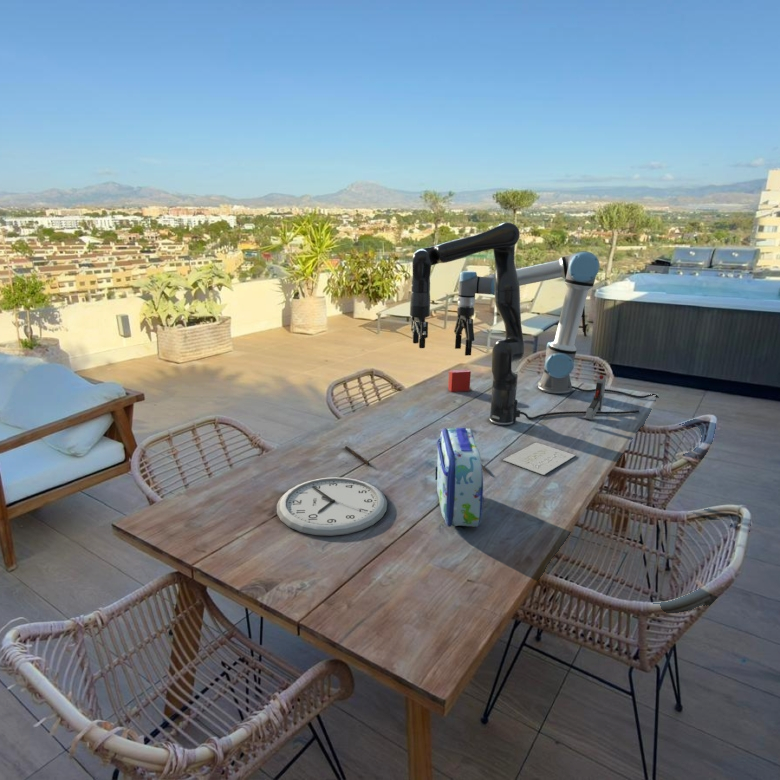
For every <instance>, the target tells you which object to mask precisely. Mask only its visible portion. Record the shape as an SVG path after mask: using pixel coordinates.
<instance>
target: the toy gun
mask: <svg viewBox="0 0 780 780" xmlns="http://www.w3.org/2000/svg"><path fill="white" fill-rule="evenodd" d="M595 389H596V391H594V392H595V393H594V396H593V398H592V401H591V402H590V404H589V406H588V407H586V410H585V411H586V413H585V419H586V420H589V421H592V420H593V419H594V417H595V415H597V414H596V412H602V409H603V408H602V407H603V402H604V399H605V392H606V391H605V389H606V375H605V374H599V375H598V377H597V381H596V383H595Z"/></svg>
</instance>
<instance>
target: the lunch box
mask: <svg viewBox="0 0 780 780" xmlns="http://www.w3.org/2000/svg"><path fill="white" fill-rule="evenodd" d="M436 444H437V458H436V459H437V464H436V465H437V466H436V467H435V480H434V481H436V483H437V484H436V490H437V491H436V492H437V495H438V501H439V507H440V512H441V516H442V518H443V520H444V523H445V525H447V527H449V528H450V527H457V526H461V527H473V528H478V527H479V526H480V524H481V522H482V514H483V501H484V500H483V499H484V473H483V472H484V470H482V466H483V464H482V460H481V459H482V458H481V454H480V451H479V449H478V445H477V443H476V440H475V437H474V433H473V430H472V429H471V428H466V427H455V428H447V427H446V428H445V427H444V428H441V432H440V436H439V438H438V439H437V442H436Z"/></svg>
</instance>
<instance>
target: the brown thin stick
mask: <svg viewBox="0 0 780 780" xmlns="http://www.w3.org/2000/svg"><path fill="white" fill-rule="evenodd" d="M344 449H345V450H346V451H348V452H349V453H350V454H352V455H353V456H355V457H356V458H358V459H359V460H361V461H362V462H363V463H364V464H366V465H370V461H368V460H367V459H366V458H364V457H363V456H361V455H360V454H358V453H357V452H356V451H354V450H353V449H352V448H350V447H348V446H347V445H345V446H344Z"/></svg>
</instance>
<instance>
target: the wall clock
mask: <svg viewBox="0 0 780 780" xmlns="http://www.w3.org/2000/svg"><path fill="white" fill-rule="evenodd" d="M387 509H388V500H387V498H386V496H385V494H384V493H383V492H382V491H381V490H380V489H379V488H377V487H376V486H374V485H372V484H371V483H369V482H365V481H362V480H359V479H355V478H349V477H338V476H337V477H335V476H333V477H332V476H331V477H322V478H317V479H312V480H307V481H305V482H302V483H299V484H297V485H295V486H293V487H292V488H290V489H288V490H287V491H286V492H285V493H284V494H283V495H281V496H280V498H279V499H278V502H277V503H276V515H277V517H278V518H279V520H280V521H281V522H282V523H283V524H285V525H286V526H287V527H288V528H290V529H293V530H295V531H297V532H299V533H303V534H308V535H312V536H327V537H328V536H329V537H331V536H332V537H333V536H342V535H350V534H352V533H356V532H361V531H363V530H366V529H368V528H369V527H372V526H373V525H375V524H376V523H378V522H379V521H380V520H381V519H382V518H383V517H384V516H385V514H386V512H387Z"/></svg>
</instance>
